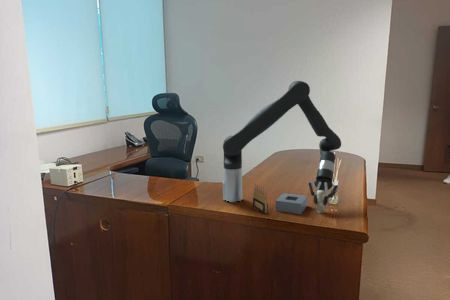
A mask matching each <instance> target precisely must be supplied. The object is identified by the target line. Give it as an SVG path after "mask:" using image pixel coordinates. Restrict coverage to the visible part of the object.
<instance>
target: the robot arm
mask: <svg viewBox="0 0 450 300" xmlns="http://www.w3.org/2000/svg"><path fill="white" fill-rule="evenodd" d="M310 92H311V88H310V85H309V84H308V83H307V82H305V81H302V80H294V81H293V82H291V83H290V84H289V86H288V89H287V91H286V92H285V93H284V94H283V95H282V96H280V97H279V98H278V99H276V100H275V101H272V102H270V103H269V104H267V105H266V106H264V107H263V108H262V109H260V110H259V111H258V112H257V113H255V115H253V116H252V118H250V120H249V121H247V123H246V124H245V125H244V127H242V128H241V129H240V130H239V131H238V132H235V134H233V135H228V136H227V137H226V138H225V139H224V140H223V144H222V150H223V182H222V200H223V201H225V200H226V201H225V202H227V201H229V202H228V203H237V202H236V201H240V202H242V201H241V200H243V169H242V168H243V162H242V161H243V157H242V150H243V149H244V148H245V147H246V146H247V145H248V144H249V143H250V142H252V140H254V139H256V138H257V137H258V136H260V135H262V133H264V132H265V131H267V130H268V129H269V128H271V127H272V126H273V125H274V124H275V123H277V122H278V121H279V120H280V119H281V118H282V117H283V116H284V115H286V114H287V112H289V111H290V110H291V109H293V108H294V107H295V106H297V105H298V107H299V108H300V109H301V111H302V112H303V115H305V118H306V119H307V122H308V123H309V125H310V126H311V128H312V130H313V131H314V133H315V134H316V135H315V136H317V137H320V138H321V137H324V138H323V139H321V140H320V142H319V144H318V148H319V153H320V155H319V156H320V159H319V164H318V166H317V171H316V177H315V180H314V182H311V181H310V182H308V187H309V191H310V195H311V196H312V197H313V204H314V205H316V206H317V191H318V190H323V191H325V198H324V206H326V205H328V202H329V199H330V198H331V199H333V198H334V196H335V194H336V193H337V191H338V190H339V186H338V185H337V184H333V179H334V174H335V162H336V154H335V153H334V152H333V151H336V150H338V149H340V148H341V147H342V141H341V138H340V137H339V136H338V135H337V133H335V131H333V130H332V129H331V128H330V127H329V125H328V124H327V122H326V120H325V119H324V116H323V115H322V114H321V113H320V111H319V110H318V109H317V107H316V105H315V104H314V103H313V102H312V100H311V97H310ZM314 187H316V188H315V191H314V190H313V189H314ZM330 189H332V190H331V191H330V192H329V190H330Z"/></svg>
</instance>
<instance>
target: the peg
mask: <svg viewBox="0 0 450 300" xmlns="http://www.w3.org/2000/svg"><path fill="white" fill-rule="evenodd" d="M324 198H325V191H323V190H318V191H317V205H316V213H317V214H325V211H326V210H325V206H324Z"/></svg>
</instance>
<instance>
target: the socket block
mask: <svg viewBox="0 0 450 300" xmlns="http://www.w3.org/2000/svg"><path fill="white" fill-rule="evenodd" d="M307 207H308V195H304V194H303V195H302V194H301V195H300V194H296V193H295V194H293V193H285V192H283V193H282V194H281V195H280V196H278V198H276V200H275V212H281V213H288V214H289V213H290V214H295V215H302V214H303V212H304V211H305V210H306V208H307Z"/></svg>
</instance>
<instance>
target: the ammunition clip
mask: <svg viewBox="0 0 450 300" xmlns="http://www.w3.org/2000/svg"><path fill="white" fill-rule="evenodd" d="M253 186H254V187H253V197H252V208H253V207H255V208H256V209H255V208H254V209H255V210H257V209H258V210H259V212H260V211H261V212H260V213H262V214H263V213H264V215H266V213H269V210H268V209H269V203H268V195H267V194H268V193H267V189H266V188H264V187H262V186H260V185H258V184H256V183H254V185H253ZM258 210H257V211H258Z"/></svg>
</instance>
